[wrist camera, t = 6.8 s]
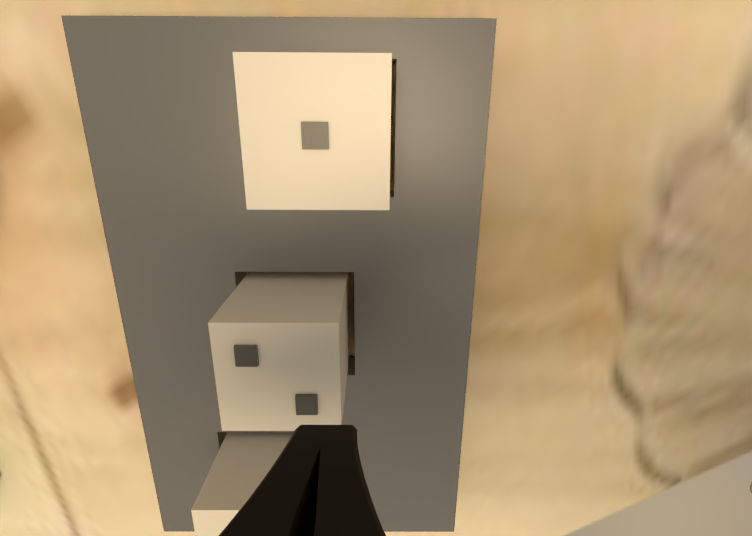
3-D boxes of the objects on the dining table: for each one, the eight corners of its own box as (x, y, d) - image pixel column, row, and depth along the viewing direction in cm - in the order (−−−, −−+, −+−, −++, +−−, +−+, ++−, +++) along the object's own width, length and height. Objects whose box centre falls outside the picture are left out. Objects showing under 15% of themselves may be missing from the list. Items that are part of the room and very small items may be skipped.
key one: (386, 71, 16) (392, 52, 11) (385, 184, 17) (389, 211, 12) (274, 71, 16) (230, 50, 11) (281, 184, 17) (245, 210, 12)
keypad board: (485, 27, 16) (496, 18, 14) (449, 505, 23) (453, 531, 21) (89, 24, 16) (61, 15, 14) (177, 505, 23) (164, 531, 21)
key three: (318, 420, 21) (301, 513, 16) (321, 487, 22) (306, 592, 17) (232, 420, 21) (189, 513, 16) (240, 487, 22) (202, 592, 17)
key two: (347, 269, 18) (338, 325, 13) (349, 355, 20) (341, 434, 15) (251, 269, 18) (206, 324, 13) (258, 354, 20) (220, 433, 15)
